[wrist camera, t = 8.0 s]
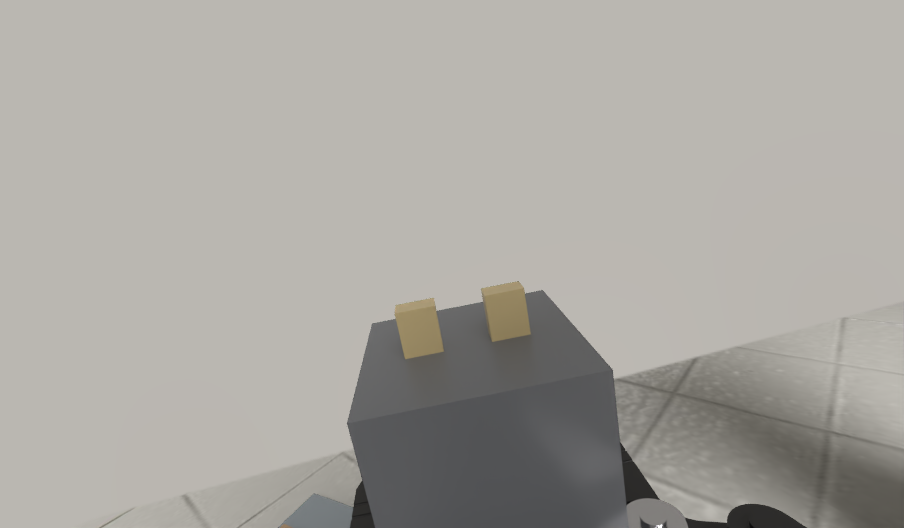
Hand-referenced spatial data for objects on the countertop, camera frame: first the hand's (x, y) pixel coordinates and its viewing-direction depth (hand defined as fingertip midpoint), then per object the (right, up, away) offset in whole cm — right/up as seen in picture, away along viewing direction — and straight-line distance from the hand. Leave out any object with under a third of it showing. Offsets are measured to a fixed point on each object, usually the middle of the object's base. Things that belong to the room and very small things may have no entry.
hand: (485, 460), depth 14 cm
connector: (+1, -7, -1) cm, 8 cm away
